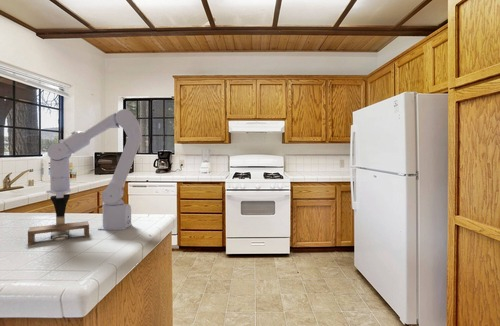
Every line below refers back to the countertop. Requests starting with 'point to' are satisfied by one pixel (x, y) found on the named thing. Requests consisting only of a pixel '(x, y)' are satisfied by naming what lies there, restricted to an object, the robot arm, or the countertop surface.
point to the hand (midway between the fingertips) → (60, 215)
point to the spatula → (60, 221)
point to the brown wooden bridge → (57, 229)
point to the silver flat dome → (59, 237)
